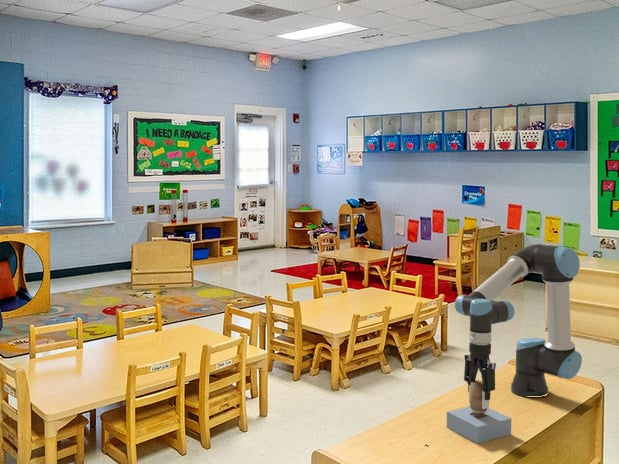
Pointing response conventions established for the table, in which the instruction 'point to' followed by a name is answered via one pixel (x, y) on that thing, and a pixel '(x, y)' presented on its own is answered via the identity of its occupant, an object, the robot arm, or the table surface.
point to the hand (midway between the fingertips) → (478, 404)
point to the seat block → (479, 424)
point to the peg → (477, 399)
